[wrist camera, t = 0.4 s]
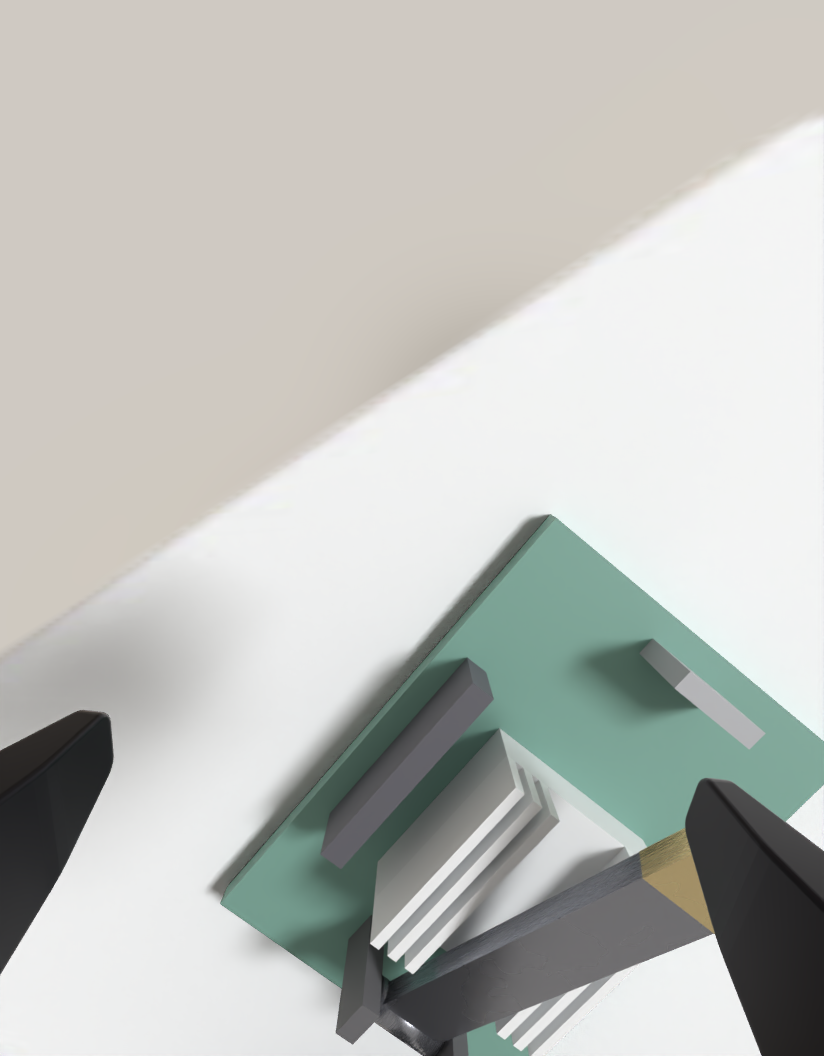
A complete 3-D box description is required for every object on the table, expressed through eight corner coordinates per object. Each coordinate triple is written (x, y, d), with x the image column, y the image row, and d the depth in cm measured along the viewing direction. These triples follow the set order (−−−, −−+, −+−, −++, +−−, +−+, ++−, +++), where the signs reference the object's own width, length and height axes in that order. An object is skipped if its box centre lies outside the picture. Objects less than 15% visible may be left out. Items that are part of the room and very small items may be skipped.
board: (495, 1074, 28) (513, 1214, 23) (227, 886, 26) (183, 991, 21) (830, 748, 25) (933, 827, 20) (550, 514, 23) (586, 536, 18)
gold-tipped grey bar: (428, 1022, 24) (421, 1063, 23) (368, 980, 24) (358, 1020, 22) (799, 860, 16) (819, 911, 15) (716, 794, 16) (730, 839, 15)
